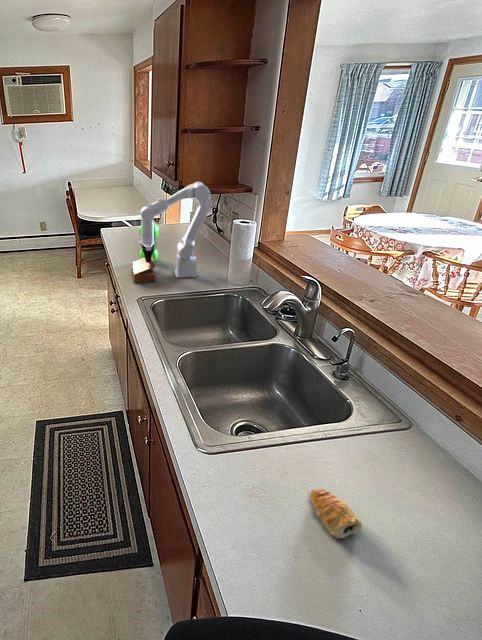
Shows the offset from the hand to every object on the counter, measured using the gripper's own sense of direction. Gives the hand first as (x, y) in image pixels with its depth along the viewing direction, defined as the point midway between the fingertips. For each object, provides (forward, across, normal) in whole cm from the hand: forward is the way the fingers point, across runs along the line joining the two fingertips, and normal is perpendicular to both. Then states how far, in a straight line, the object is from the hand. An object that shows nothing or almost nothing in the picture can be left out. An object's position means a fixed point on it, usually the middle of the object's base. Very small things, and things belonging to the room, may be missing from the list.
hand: (147, 259), depth 187 cm
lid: (+3, 0, -2) cm, 3 cm away
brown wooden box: (+8, 0, -2) cm, 9 cm away
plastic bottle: (+8, -20, +2) cm, 22 cm away
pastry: (+8, +123, +26) cm, 126 cm away
